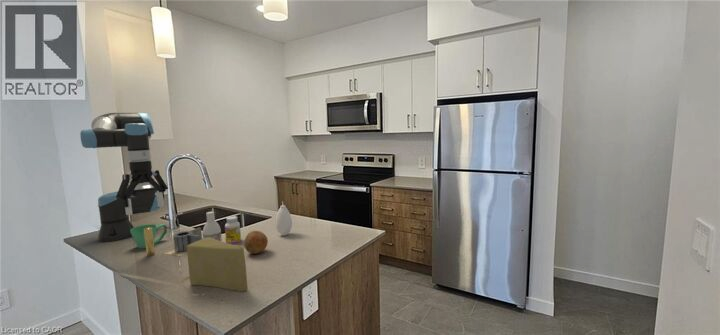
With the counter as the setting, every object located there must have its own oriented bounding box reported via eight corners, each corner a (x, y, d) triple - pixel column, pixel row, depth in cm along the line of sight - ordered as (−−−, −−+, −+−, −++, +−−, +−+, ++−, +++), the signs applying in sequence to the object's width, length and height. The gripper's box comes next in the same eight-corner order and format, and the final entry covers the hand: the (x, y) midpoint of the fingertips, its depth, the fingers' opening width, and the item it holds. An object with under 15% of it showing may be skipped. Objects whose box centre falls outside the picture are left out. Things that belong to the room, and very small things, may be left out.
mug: (138, 254, 136) (136, 232, 134) (129, 250, 141) (126, 229, 140) (173, 243, 148) (171, 223, 147) (163, 239, 153) (160, 220, 152)
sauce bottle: (295, 233, 157) (293, 199, 155) (284, 238, 150) (282, 203, 148) (284, 231, 161) (282, 198, 159) (273, 236, 155) (271, 201, 152)
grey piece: (171, 251, 135) (169, 235, 134) (195, 240, 147) (194, 226, 146) (193, 254, 131) (191, 238, 130) (216, 243, 143) (215, 229, 142)
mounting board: (162, 255, 133) (162, 253, 133) (193, 242, 148) (193, 240, 148) (188, 259, 128) (188, 257, 128) (217, 245, 143) (217, 243, 143)
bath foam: (223, 259, 128) (219, 213, 125) (205, 263, 125) (200, 215, 122) (222, 253, 134) (219, 209, 131) (205, 256, 131) (201, 211, 128)
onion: (272, 249, 137) (271, 227, 136) (259, 258, 128) (258, 235, 127) (254, 247, 140) (252, 226, 139) (240, 256, 130) (238, 233, 129)
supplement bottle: (223, 245, 143) (220, 219, 142) (232, 240, 150) (230, 215, 148) (234, 246, 141) (232, 220, 140) (244, 241, 148) (242, 216, 146)
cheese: (257, 284, 106) (254, 243, 105) (235, 298, 98) (231, 254, 96) (212, 273, 116) (209, 235, 114) (189, 285, 107) (184, 244, 105)
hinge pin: (145, 258, 131) (141, 229, 130) (152, 255, 134) (148, 226, 132) (150, 259, 130) (146, 229, 129) (157, 256, 133) (153, 227, 131)
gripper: (113, 164, 114) (120, 219, 117) (173, 157, 137) (178, 203, 140) (100, 164, 117) (107, 217, 119) (161, 157, 140) (166, 203, 142)
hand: (145, 210), depth 130 cm, fingers open, 13 cm apart
